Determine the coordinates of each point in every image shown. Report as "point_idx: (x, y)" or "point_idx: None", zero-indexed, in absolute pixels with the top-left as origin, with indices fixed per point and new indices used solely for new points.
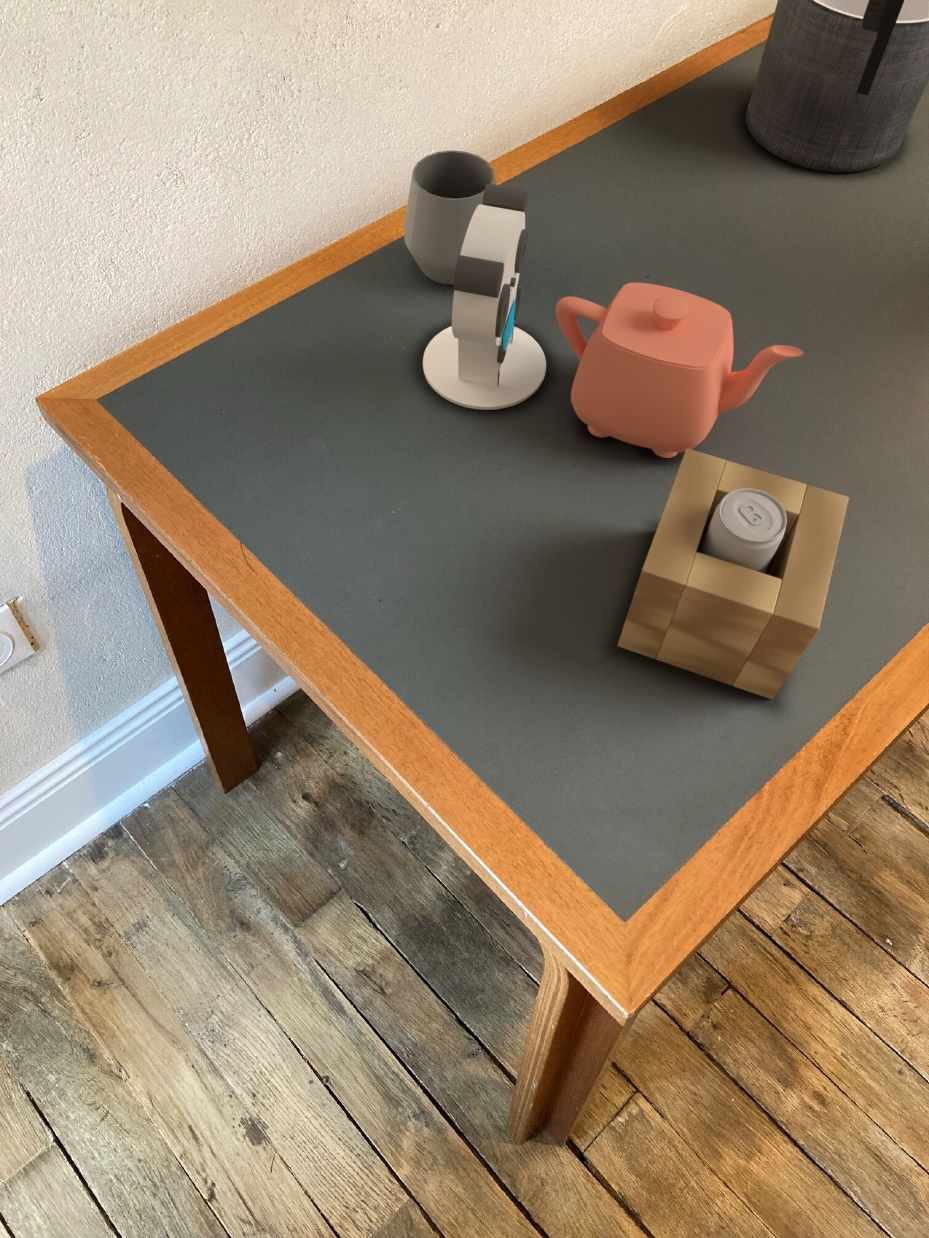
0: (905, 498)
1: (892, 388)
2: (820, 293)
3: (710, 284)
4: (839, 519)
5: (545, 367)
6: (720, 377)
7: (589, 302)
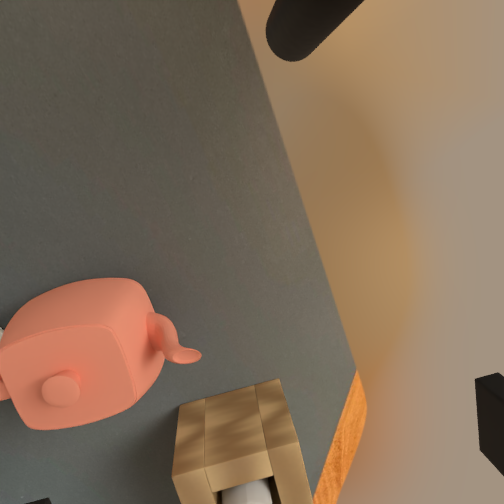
0: (315, 273)
1: (265, 161)
2: (148, 65)
3: (46, 126)
4: (300, 462)
5: (1, 332)
6: (146, 366)
7: None
